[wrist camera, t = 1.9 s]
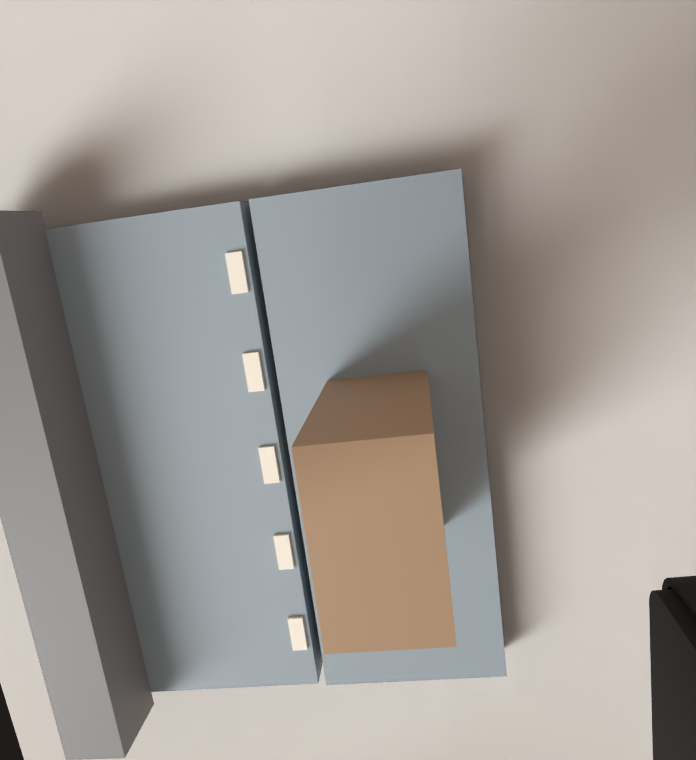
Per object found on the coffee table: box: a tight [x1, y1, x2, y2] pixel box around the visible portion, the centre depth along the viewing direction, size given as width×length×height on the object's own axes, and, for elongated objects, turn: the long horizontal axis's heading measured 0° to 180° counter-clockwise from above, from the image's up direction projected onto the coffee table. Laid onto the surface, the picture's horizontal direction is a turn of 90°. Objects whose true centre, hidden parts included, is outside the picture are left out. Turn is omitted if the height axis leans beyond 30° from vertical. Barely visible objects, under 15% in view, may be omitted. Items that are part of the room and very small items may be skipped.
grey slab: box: [249, 169, 507, 685], centre depth 18 cm, size 6×16×7 cm, turn 8°
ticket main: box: [0, 201, 323, 760], centre depth 20 cm, size 9×17×4 cm, turn 8°
